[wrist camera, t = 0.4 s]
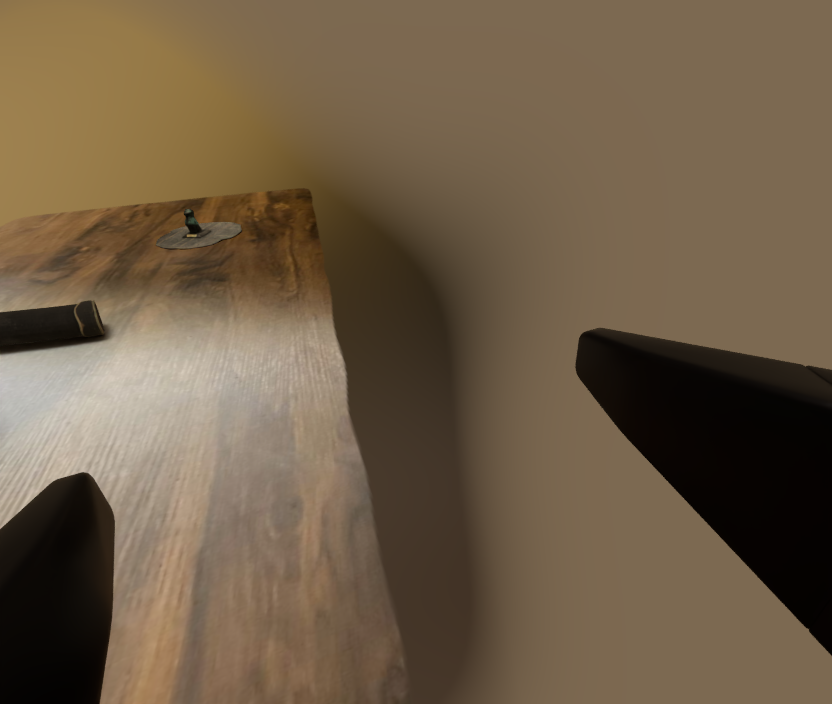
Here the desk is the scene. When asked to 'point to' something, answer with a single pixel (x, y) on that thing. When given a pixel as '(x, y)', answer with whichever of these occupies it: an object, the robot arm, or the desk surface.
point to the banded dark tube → (50, 323)
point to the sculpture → (197, 233)
